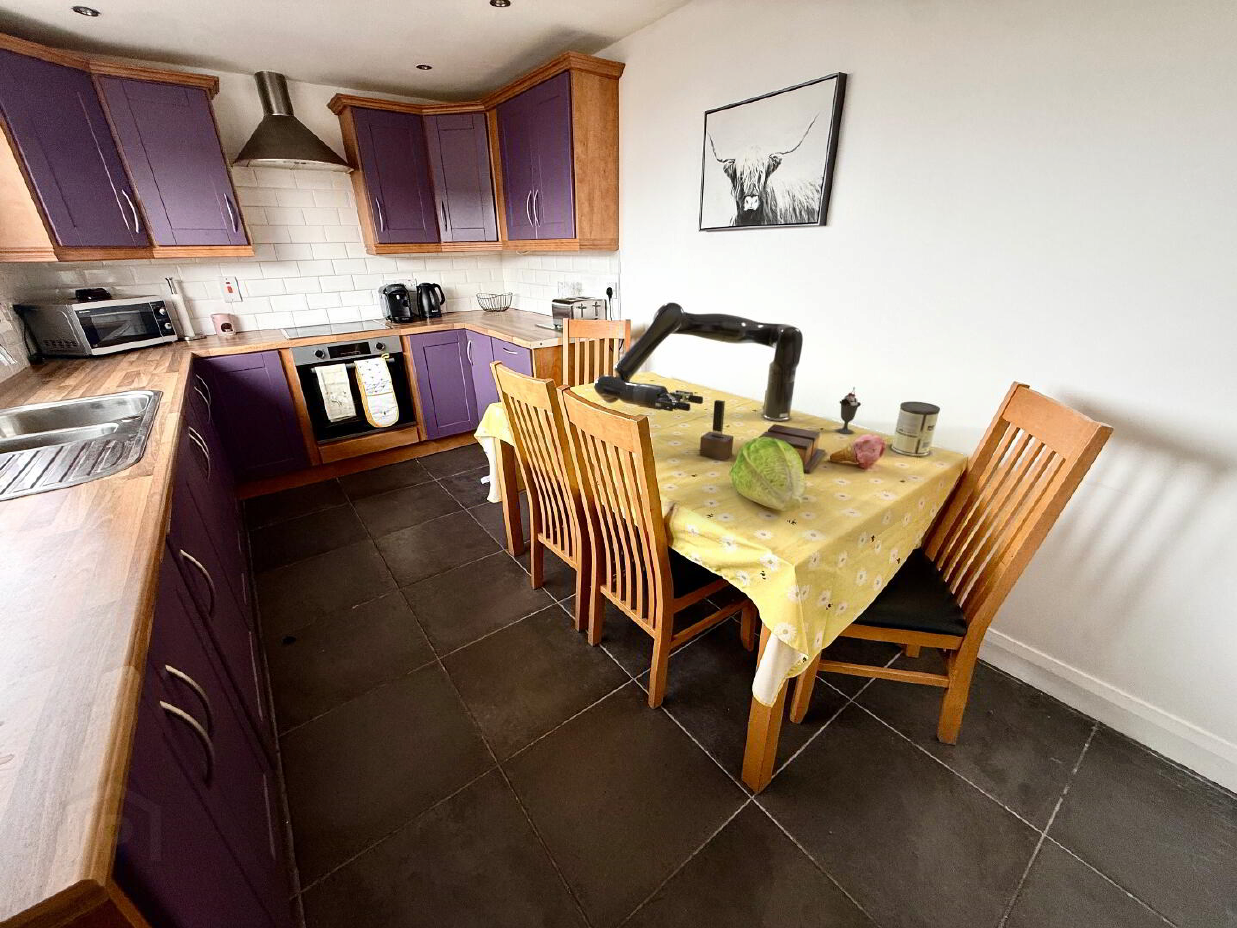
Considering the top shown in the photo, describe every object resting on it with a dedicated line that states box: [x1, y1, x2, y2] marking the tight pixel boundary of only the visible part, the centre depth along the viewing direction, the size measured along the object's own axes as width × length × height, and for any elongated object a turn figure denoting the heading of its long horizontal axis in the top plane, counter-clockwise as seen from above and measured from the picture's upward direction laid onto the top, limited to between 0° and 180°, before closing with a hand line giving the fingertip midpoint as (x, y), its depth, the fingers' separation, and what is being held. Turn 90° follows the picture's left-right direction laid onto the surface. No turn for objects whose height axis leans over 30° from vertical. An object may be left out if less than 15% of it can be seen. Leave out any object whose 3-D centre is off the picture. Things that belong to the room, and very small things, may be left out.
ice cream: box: [829, 433, 886, 469], centre depth 143 cm, size 11×10×15 cm
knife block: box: [699, 431, 734, 462], centre depth 151 cm, size 8×6×6 cm
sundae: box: [836, 386, 862, 435], centre depth 167 cm, size 7×7×15 cm
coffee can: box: [891, 401, 941, 457], centre depth 151 cm, size 10×10×14 cm
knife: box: [712, 399, 726, 438], centre depth 149 cm, size 3×2×17 cm, turn 56°
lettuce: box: [729, 437, 807, 513], centre depth 122 cm, size 17×24×14 cm
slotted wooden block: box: [758, 423, 826, 474], centre depth 149 cm, size 18×18×7 cm
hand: (696, 403), depth 150 cm, fingers open, 8 cm apart
